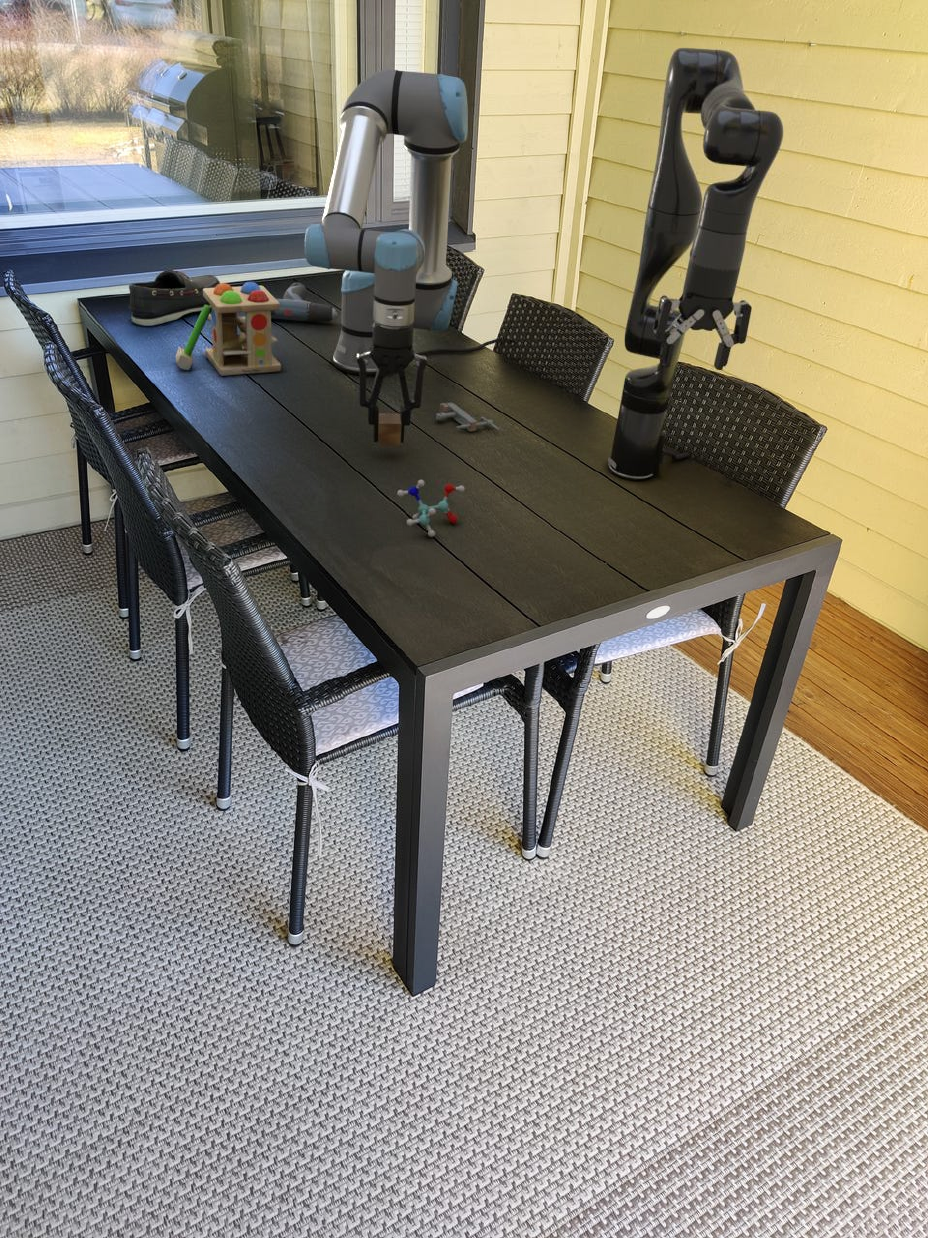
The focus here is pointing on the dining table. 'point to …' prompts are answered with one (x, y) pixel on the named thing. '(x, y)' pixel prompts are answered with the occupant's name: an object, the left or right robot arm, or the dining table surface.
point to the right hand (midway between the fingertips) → (691, 366)
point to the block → (389, 429)
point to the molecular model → (424, 508)
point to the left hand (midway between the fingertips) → (388, 439)
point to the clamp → (459, 414)
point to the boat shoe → (168, 297)
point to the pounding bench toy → (229, 347)
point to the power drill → (301, 307)
